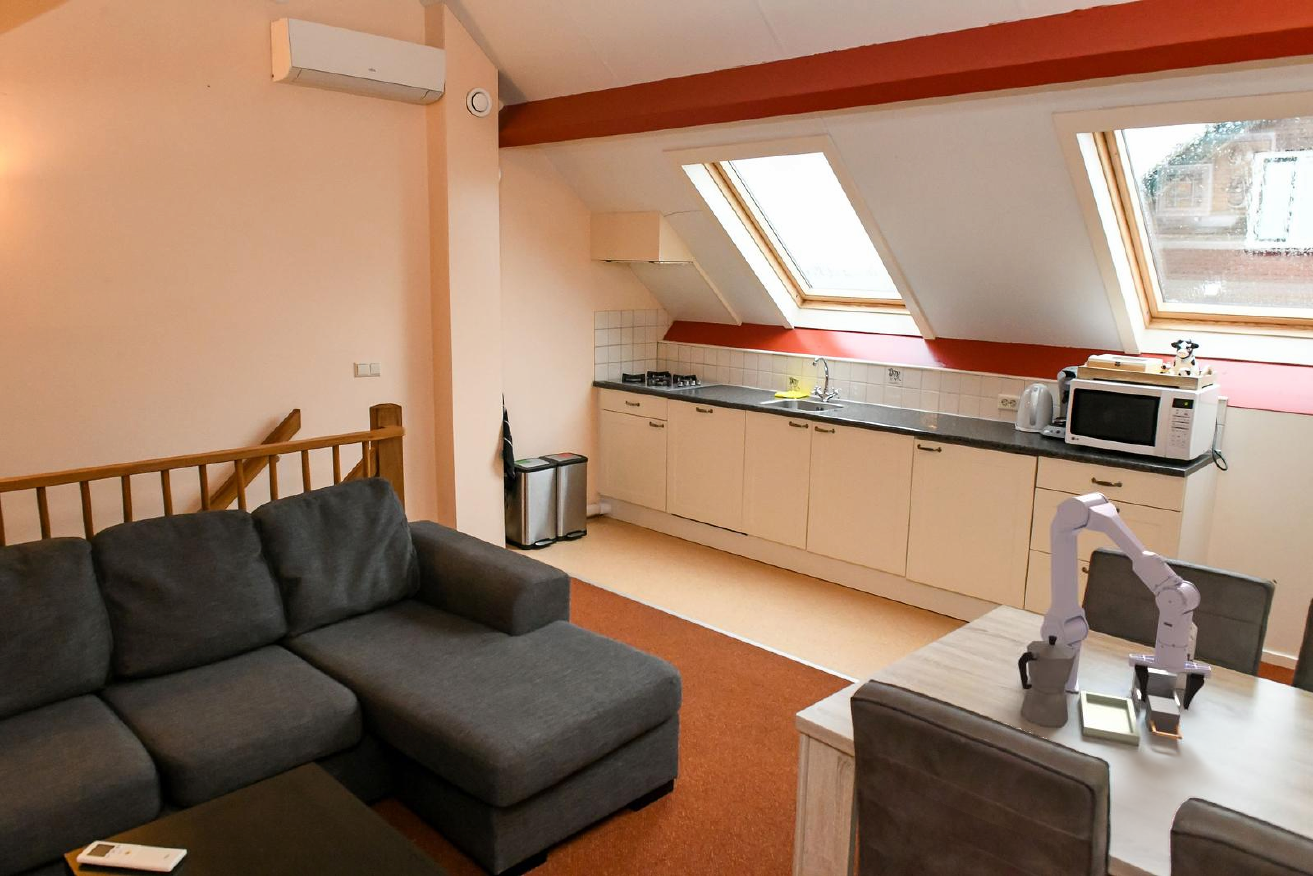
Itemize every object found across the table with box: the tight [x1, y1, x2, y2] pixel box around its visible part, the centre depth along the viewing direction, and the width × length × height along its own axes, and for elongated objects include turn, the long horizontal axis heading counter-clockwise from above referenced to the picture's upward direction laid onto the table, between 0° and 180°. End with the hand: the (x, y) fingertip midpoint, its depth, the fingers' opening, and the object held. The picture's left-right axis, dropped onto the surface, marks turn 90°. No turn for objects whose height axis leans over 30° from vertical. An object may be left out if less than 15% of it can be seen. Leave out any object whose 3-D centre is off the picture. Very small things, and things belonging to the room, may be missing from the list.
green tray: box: [1078, 689, 1141, 747], centre depth 193 cm, size 10×17×2 cm, turn 158°
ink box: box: [1176, 621, 1198, 690], centre depth 211 cm, size 9×5×15 cm, turn 168°
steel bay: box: [1131, 667, 1181, 713], centre depth 200 cm, size 8×11×6 cm
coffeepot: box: [1017, 636, 1076, 728], centre depth 192 cm, size 15×9×18 cm, turn 116°
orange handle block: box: [1144, 695, 1183, 740], centre depth 188 cm, size 5×12×5 cm, turn 158°
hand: (1164, 703), depth 190 cm, fingers open, 7 cm apart
